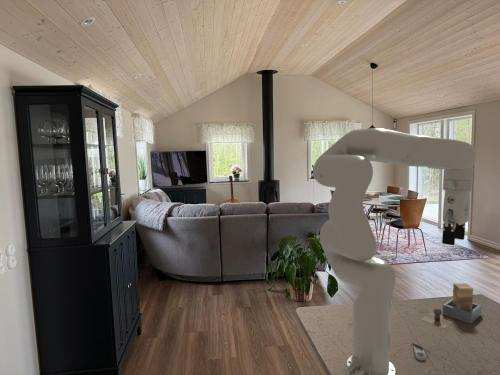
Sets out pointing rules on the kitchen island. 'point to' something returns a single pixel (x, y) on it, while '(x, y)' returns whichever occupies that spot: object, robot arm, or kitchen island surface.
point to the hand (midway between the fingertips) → (453, 241)
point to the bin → (462, 312)
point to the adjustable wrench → (419, 352)
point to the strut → (462, 296)
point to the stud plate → (438, 323)
